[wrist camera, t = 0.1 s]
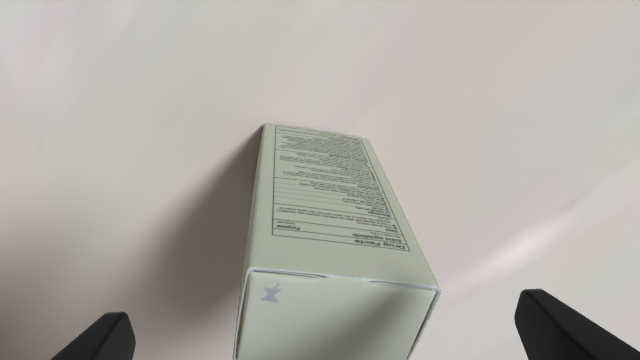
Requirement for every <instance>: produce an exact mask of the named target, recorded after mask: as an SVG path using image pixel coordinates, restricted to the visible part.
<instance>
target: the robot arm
mask: <svg viewBox="0 0 640 360" xmlns="http://www.w3.org/2000/svg"><path fill="white" fill-rule="evenodd" d="M514 319H515V325H516V328H517V330H518V333H519V336H520V338H521V341H522V343H523V346H524V349H525V351H526V354H527V357H528V359H529V360H640V352H639V351H638V350H636V349H635V348H633V347H631V346H630V345H628V344H627V343H625V342H624V341H622V340H621V339H619V338H617V337H616V336H614V335H613V334H611V333H610V332H608V331H607V330H605V329H603V328H602V327H600V326H599V325H597V324H596V323H594V322H592V321H591V320H589V319H588V318H586V317H585V316H583V315H582V314H580V313H578V312H577V311H575V310H574V309H572V308H571V307H569V306H568V305H566V304H564V303H563V302H561V301H560V300H558V299H557V298H555V297H553V296H552V295H550V294H549V293H547V292H546V291H544V290H542V289H525V290H523V291H522V292H521V294H520V297H519V301H518V304H517V308H516V312H515V318H514ZM135 344H136V340H135V335H134V332H133V329H132V326H131V323H130V320H129V317H128V315H127V314H126V313H125V312H109V313H106V314H104V315H103V316H101V317H100V318H99V319H98V320H97V321H96V322H94V323H93V324H92V325H91V326H90V327H88V328H87V329H86V330H85V331H84V332H83V333H81V334H80V335H79V336H78V337H77V338H75V339H74V340H73V341H72V342H71V343H69V344H68V345H67V346H66V347H65V348H64V349H62V350H61V351H60V352H59V353H58V354H56V355H55V356H54V357H53V358H52V359H51V360H132V358H133V354H134V350H135Z"/></svg>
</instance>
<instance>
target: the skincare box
mask: <svg viewBox="0 0 640 360" xmlns="http://www.w3.org/2000/svg"><path fill="white" fill-rule="evenodd" d="M440 294H441V290H440V288H439V286H438V283H437V281H436V279H435V277H434V275H433V273H432V271H431V269H430V267H429V265H428V263H427V260H426V258H425V256H424V255H423V252H422V250H421V248H420V246H419V244H418V242H417V240H416V238H415V235H414V233H413V231H412V229H411V227H410V225H409V223H408V221H407V219H406V217H405V214H404V212H403V210H402V208H401V206H400V204H399V202H398V200H397V198H396V196H395V193H394V191H393V189H392V187H391V185H390V183H389V181H388V179H387V177H386V175H385V173H384V170H383V168H382V166H381V164H380V162H379V160H378V158H377V156H376V154H375V152H374V150H373V147H372V145H371V143H370V141H369V140H367V139H363V138H358V137H353V136H347V135H342V134H336V133H330V132H325V131H318V130H312V129H305V128H298V127H292V126H284V125H276V124H269V123H266V124H264V126H263V131H262V137H261V142H260V147H259V153H258V160H257V166H256V174H255V180H254V187H253V195H252V204H251V211H250V218H249V226H248V234H247V243H246V250H245V258H244V265H243V273H242V281H241V290H240V298H239V306H238V315H237V324H236V333H235V342H234V353H233V360H409V358H410V357H411V355H412V353H413V351H414V348H415V347H416V345H417V343H418V341H419V339H420V337H421V335H422V332H423V330H424V328H425V326H426V324H427V322H428V320H429V318H430V316H431V314H432V311H433V309H434V307H435V305H436V303H437V301H438V298H439V296H440Z"/></svg>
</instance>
